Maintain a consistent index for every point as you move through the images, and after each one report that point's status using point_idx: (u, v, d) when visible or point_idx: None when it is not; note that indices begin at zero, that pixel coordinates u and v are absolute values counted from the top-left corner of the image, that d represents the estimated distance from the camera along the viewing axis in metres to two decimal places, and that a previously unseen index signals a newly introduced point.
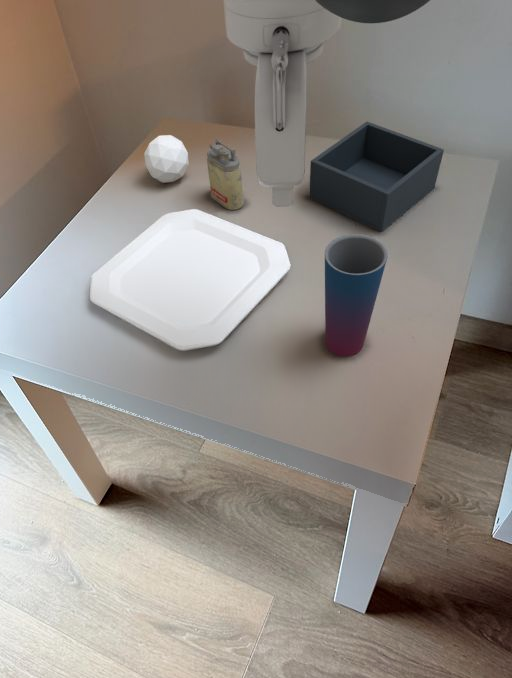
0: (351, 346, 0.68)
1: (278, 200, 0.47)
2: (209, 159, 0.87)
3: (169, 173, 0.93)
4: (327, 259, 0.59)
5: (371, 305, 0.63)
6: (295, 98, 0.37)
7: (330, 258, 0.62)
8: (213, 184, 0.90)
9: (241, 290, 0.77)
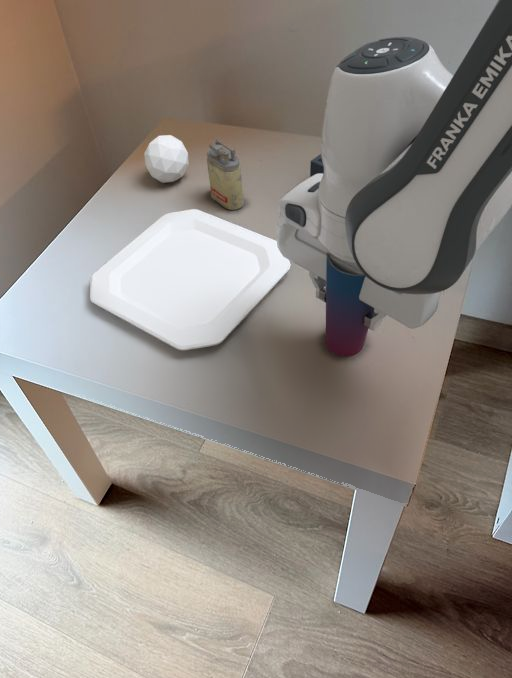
0: (351, 346, 0.68)
1: (375, 326, 0.64)
2: (209, 159, 0.87)
3: (169, 173, 0.93)
4: (329, 259, 0.59)
5: None
6: None
7: None
8: (213, 184, 0.90)
9: (241, 290, 0.77)
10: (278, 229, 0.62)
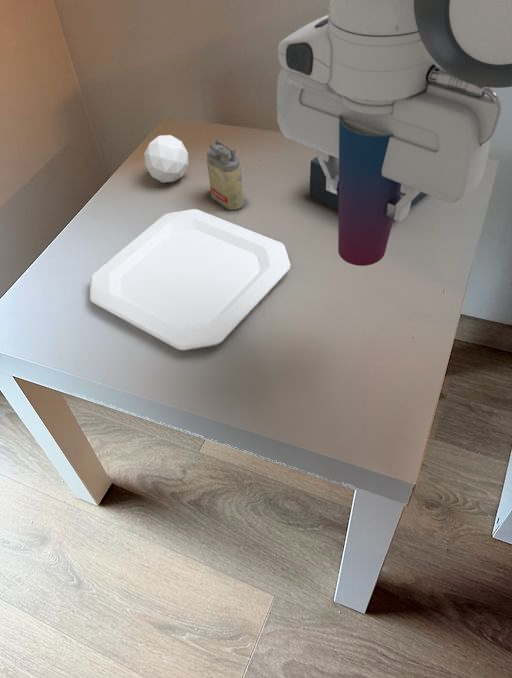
0: (371, 250, 0.56)
1: (402, 215, 0.51)
2: (209, 159, 0.87)
3: (169, 173, 0.93)
4: (343, 122, 0.47)
5: (397, 189, 0.50)
6: None
7: None
8: (213, 184, 0.90)
9: (241, 290, 0.77)
10: (278, 94, 0.50)
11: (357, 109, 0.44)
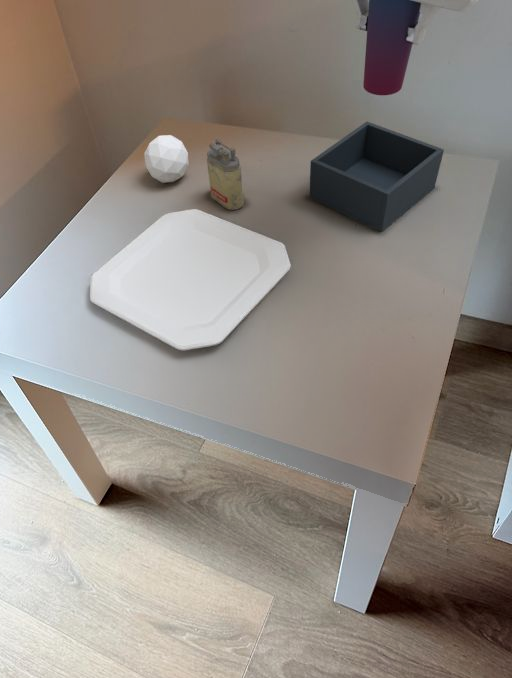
0: (392, 78, 0.68)
1: (419, 38, 0.64)
2: (209, 159, 0.87)
3: (169, 173, 0.93)
4: None
5: (416, 15, 0.63)
6: None
7: None
8: (213, 184, 0.90)
9: (241, 290, 0.77)
10: None
11: None
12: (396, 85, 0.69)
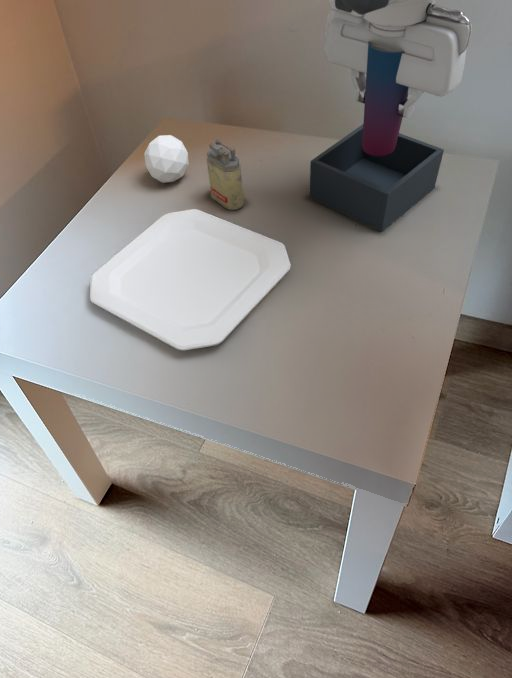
0: (386, 143, 0.80)
1: (408, 113, 0.76)
2: (209, 159, 0.87)
3: (169, 173, 0.93)
4: (371, 45, 0.71)
5: (405, 94, 0.75)
6: None
7: None
8: (213, 184, 0.90)
9: (241, 290, 0.77)
10: (326, 29, 0.75)
11: (381, 34, 0.68)
12: (390, 148, 0.81)
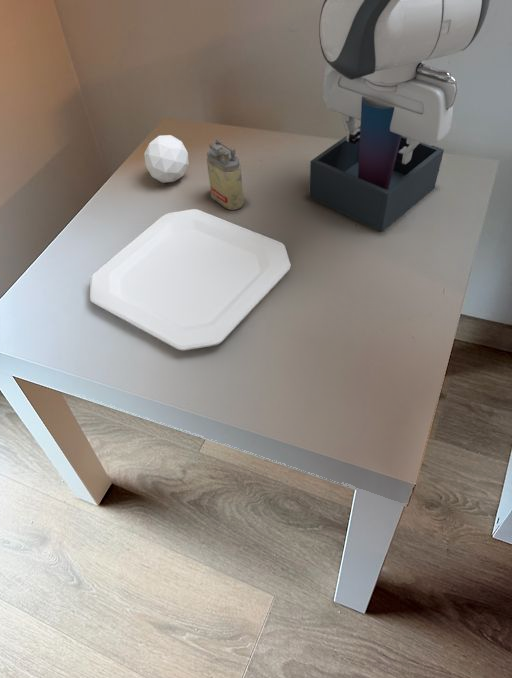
0: (379, 186, 0.86)
1: (407, 159, 0.81)
2: (209, 159, 0.87)
3: (169, 173, 0.93)
4: (364, 100, 0.77)
5: (397, 143, 0.81)
6: None
7: None
8: (213, 184, 0.90)
9: (241, 290, 0.77)
10: (324, 80, 0.80)
11: (375, 88, 0.74)
12: None
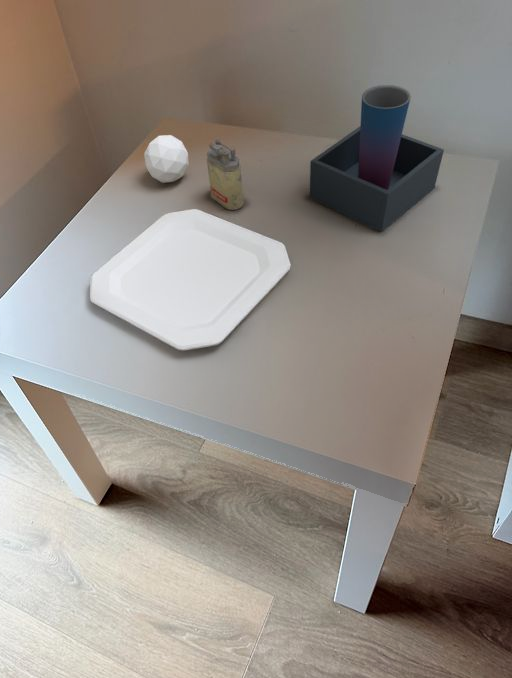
0: (379, 186, 0.86)
1: None
2: (209, 159, 0.87)
3: (169, 173, 0.93)
4: (364, 100, 0.77)
5: (397, 143, 0.81)
6: None
7: None
8: (213, 184, 0.90)
9: (241, 290, 0.77)
10: None
11: None
12: None
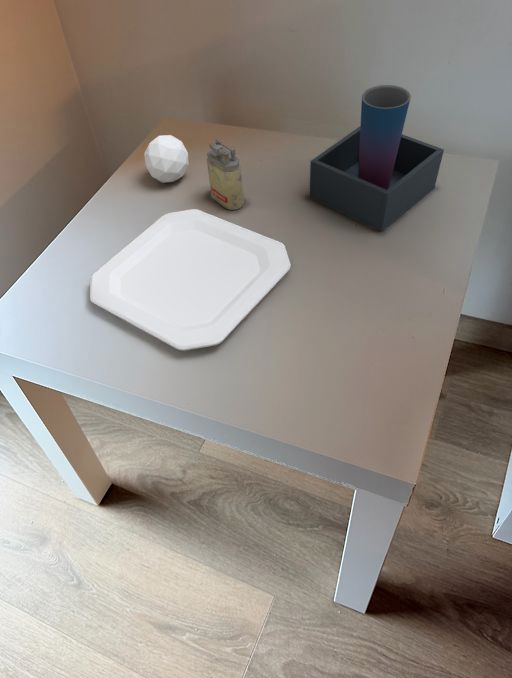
0: (379, 186, 0.86)
1: None
2: (209, 159, 0.87)
3: (169, 173, 0.93)
4: (364, 100, 0.77)
5: (397, 143, 0.81)
6: None
7: None
8: (213, 184, 0.90)
9: (241, 290, 0.77)
10: None
11: None
12: None
